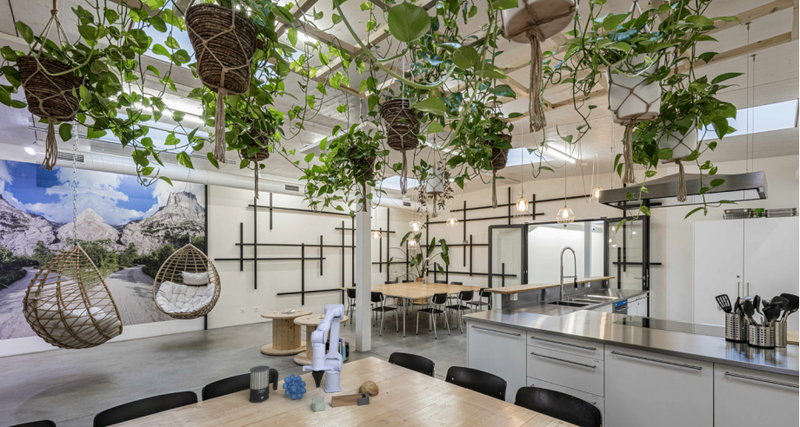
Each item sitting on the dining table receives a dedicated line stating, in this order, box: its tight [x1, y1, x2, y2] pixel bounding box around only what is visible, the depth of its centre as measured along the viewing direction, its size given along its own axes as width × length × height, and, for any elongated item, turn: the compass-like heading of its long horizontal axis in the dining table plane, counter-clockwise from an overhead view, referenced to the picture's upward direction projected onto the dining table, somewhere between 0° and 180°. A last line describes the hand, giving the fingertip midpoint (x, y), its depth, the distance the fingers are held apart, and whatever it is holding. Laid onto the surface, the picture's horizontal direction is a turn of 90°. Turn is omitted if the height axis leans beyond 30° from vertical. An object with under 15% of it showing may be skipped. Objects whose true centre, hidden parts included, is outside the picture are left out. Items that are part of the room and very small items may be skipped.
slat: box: [331, 393, 362, 408], centre depth 177 cm, size 4×14×4 cm, turn 105°
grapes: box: [282, 373, 307, 400], centre depth 182 cm, size 12×7×12 cm, turn 95°
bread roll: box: [358, 380, 380, 398], centre depth 190 cm, size 10×10×8 cm
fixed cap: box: [357, 393, 370, 407], centre depth 179 cm, size 7×5×3 cm
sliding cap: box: [311, 397, 326, 412], centre depth 173 cm, size 7×5×3 cm
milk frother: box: [248, 365, 280, 404], centre depth 187 cm, size 14×16×15 cm
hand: (318, 387), depth 173 cm, fingers closed
